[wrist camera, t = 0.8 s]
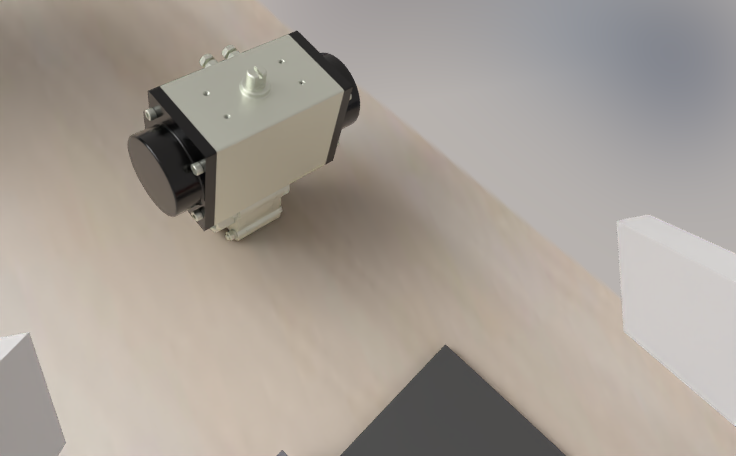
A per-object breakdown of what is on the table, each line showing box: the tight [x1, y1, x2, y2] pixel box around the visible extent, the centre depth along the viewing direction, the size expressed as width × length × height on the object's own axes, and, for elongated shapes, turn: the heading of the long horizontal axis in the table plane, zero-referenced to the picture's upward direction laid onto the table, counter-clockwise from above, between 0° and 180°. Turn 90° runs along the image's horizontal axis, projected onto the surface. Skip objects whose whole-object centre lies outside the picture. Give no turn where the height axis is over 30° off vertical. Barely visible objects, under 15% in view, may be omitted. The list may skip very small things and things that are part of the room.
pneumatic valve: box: [128, 31, 360, 241], centre depth 36 cm, size 6×12×12 cm, turn 131°
